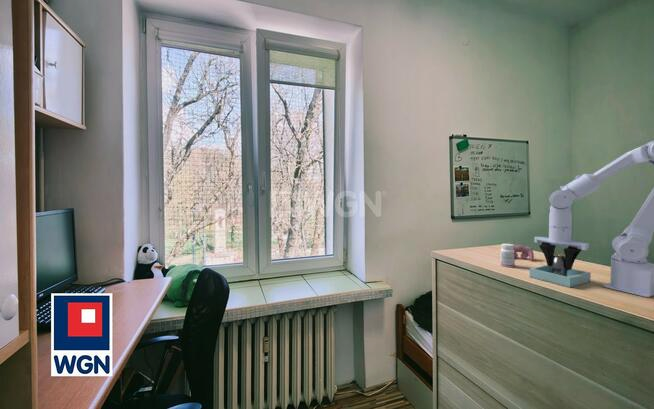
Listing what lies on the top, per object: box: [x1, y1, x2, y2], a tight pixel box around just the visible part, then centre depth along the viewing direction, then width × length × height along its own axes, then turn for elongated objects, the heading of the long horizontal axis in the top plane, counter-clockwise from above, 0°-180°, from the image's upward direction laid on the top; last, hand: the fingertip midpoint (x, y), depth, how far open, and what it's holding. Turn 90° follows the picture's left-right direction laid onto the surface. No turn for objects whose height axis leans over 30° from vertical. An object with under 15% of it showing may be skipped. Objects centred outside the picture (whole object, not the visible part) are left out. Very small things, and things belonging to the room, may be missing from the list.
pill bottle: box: [499, 243, 516, 268], centre depth 109 cm, size 5×5×8 cm
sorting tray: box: [529, 264, 592, 289], centre depth 93 cm, size 12×12×3 cm
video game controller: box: [513, 244, 535, 262], centre depth 119 cm, size 10×5×7 cm, turn 58°
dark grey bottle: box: [552, 253, 568, 277], centre depth 92 cm, size 4×4×8 cm
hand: (559, 267), depth 93 cm, fingers open, 5 cm apart
